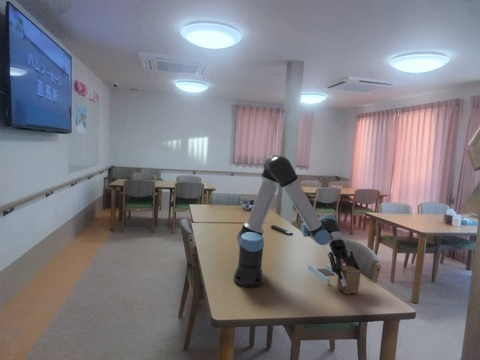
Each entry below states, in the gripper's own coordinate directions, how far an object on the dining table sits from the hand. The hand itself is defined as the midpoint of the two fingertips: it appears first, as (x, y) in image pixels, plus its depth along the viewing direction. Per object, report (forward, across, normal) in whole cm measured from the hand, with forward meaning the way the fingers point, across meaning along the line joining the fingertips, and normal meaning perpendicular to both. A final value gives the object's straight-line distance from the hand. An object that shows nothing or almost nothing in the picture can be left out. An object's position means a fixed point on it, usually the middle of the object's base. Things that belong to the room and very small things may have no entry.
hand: (351, 285), depth 147 cm
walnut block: (+1, 0, -5) cm, 5 cm away
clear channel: (-11, 0, -18) cm, 21 cm away
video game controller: (-17, -17, -24) cm, 34 cm away
